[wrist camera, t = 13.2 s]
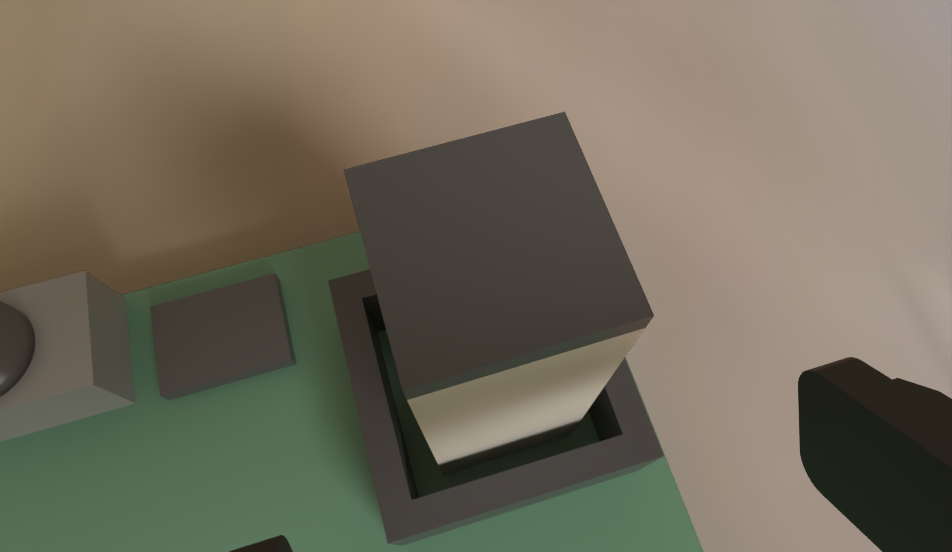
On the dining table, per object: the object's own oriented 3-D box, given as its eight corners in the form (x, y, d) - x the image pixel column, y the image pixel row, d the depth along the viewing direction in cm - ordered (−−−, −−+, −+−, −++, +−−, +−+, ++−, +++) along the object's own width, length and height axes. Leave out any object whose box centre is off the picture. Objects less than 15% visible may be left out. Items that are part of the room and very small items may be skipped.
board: (-76, 964, 16) (-263, 1099, 12) (-61, 365, 23) (-184, 322, 18) (736, 674, 19) (807, 706, 15) (550, 200, 25) (564, 129, 21)
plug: (443, 475, 20) (402, 391, 10) (408, 350, 21) (343, 169, 11) (571, 434, 20) (653, 315, 10) (528, 314, 21) (564, 111, 12)
